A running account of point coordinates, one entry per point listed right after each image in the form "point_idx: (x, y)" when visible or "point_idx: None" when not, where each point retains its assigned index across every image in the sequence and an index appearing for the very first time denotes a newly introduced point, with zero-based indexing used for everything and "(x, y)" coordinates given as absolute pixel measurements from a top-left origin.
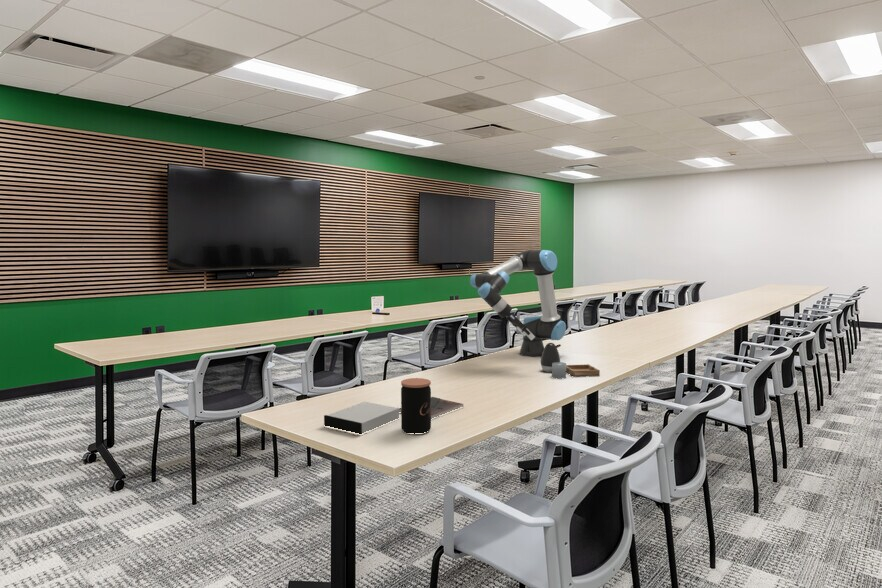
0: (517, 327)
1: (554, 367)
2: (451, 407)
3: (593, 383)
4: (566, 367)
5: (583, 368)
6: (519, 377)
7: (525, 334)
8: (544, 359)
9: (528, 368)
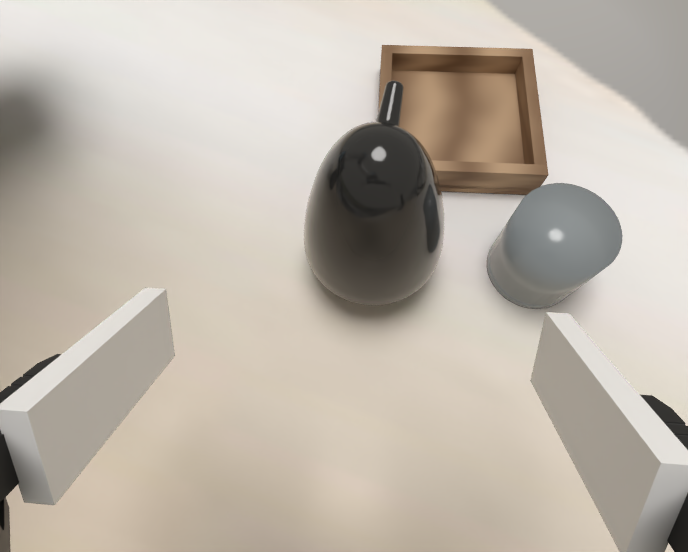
0: (56, 474)
1: (590, 278)
2: None
3: (682, 153)
4: None
5: None
6: (525, 544)
7: (166, 334)
8: (410, 276)
9: (258, 369)
